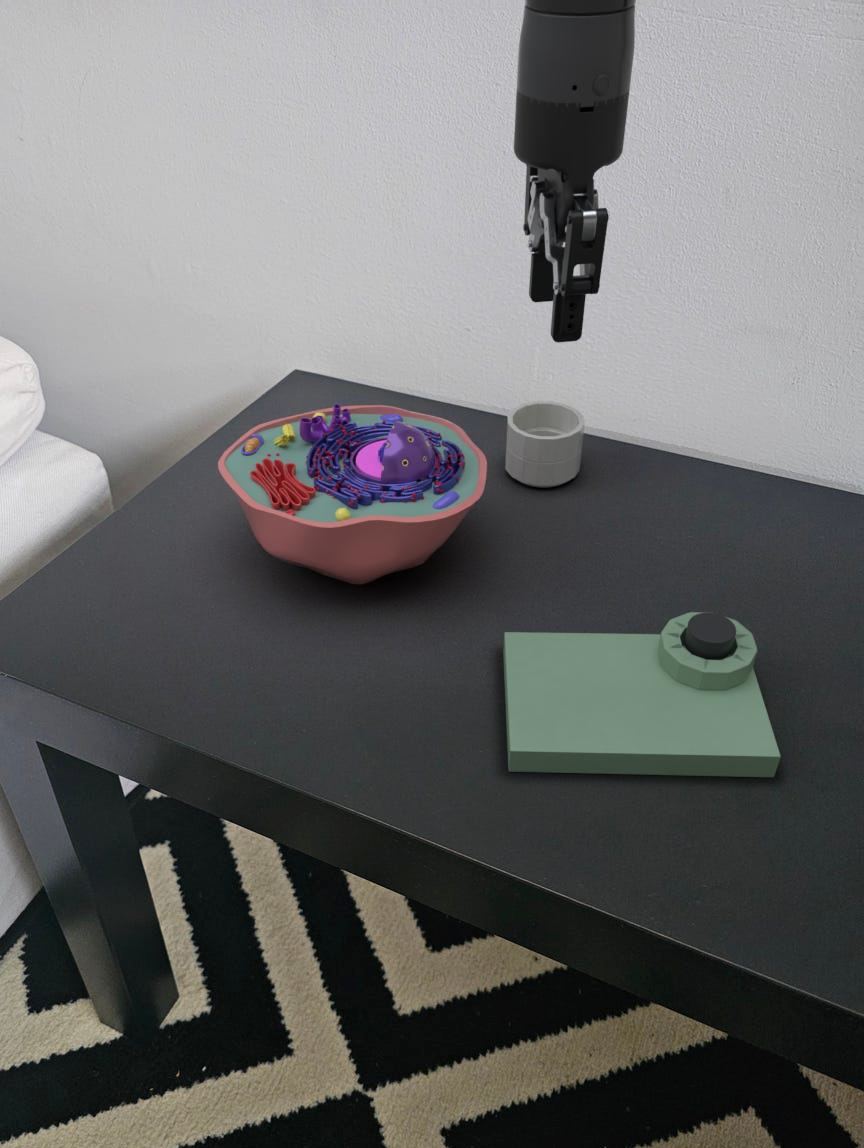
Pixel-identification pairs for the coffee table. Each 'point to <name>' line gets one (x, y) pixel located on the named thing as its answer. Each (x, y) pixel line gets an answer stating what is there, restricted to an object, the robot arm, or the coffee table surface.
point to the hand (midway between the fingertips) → (554, 318)
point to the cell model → (355, 487)
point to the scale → (635, 705)
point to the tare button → (710, 636)
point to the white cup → (544, 443)
